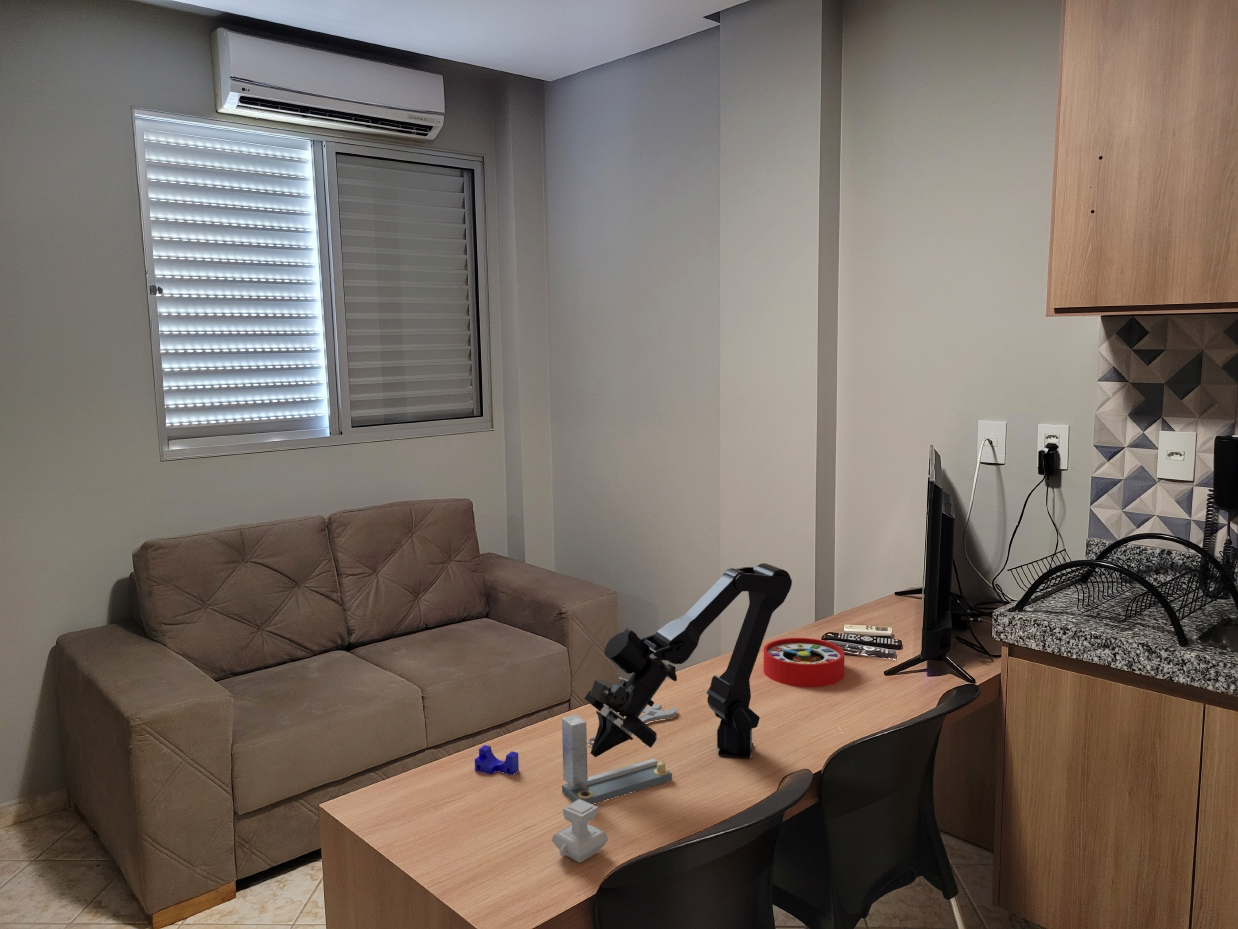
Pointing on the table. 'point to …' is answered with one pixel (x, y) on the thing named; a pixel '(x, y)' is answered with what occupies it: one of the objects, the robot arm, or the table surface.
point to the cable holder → (496, 762)
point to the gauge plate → (620, 782)
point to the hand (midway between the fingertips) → (592, 755)
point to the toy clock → (803, 662)
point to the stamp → (579, 832)
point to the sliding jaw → (575, 751)
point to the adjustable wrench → (651, 715)
